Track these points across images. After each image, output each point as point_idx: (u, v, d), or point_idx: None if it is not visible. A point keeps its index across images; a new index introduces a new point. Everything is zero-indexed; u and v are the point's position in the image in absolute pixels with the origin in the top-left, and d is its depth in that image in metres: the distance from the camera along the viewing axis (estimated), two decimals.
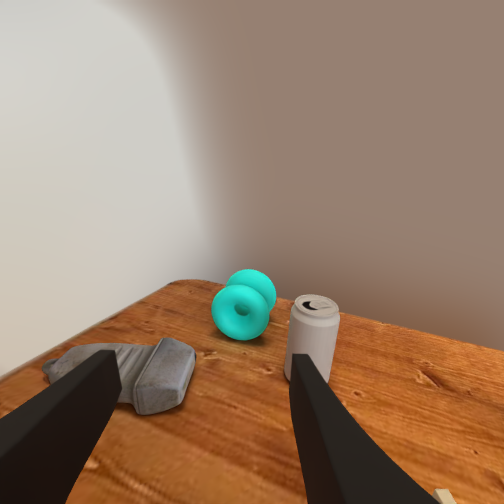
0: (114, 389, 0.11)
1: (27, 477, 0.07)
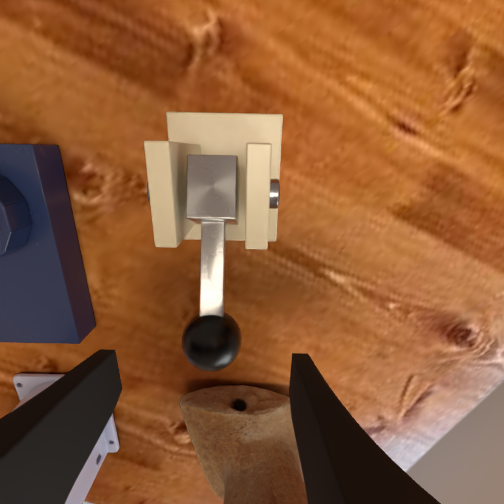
0: (114, 389, 0.11)
1: (27, 477, 0.07)
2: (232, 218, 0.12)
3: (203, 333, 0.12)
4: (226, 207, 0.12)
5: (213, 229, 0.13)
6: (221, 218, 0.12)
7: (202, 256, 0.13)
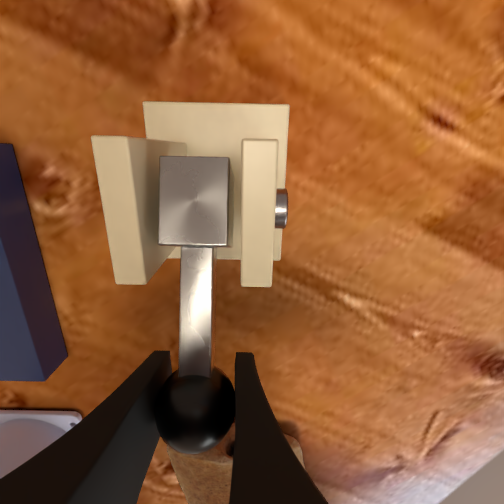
0: None
1: (113, 479, 0.07)
2: (222, 245, 0.09)
3: (182, 405, 0.09)
4: (214, 229, 0.08)
5: (197, 258, 0.09)
6: (207, 245, 0.09)
7: (182, 295, 0.09)
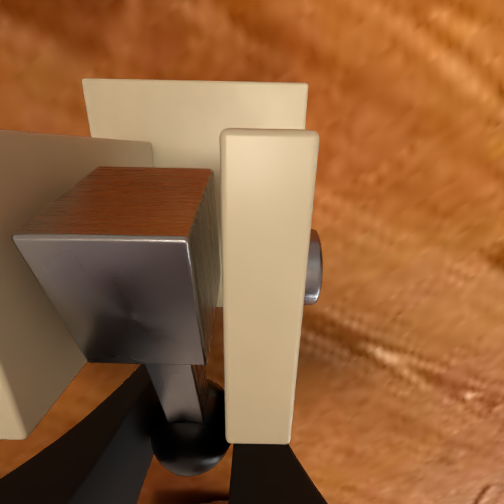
0: None
1: (113, 479, 0.07)
2: (199, 363, 0.05)
3: (176, 457, 0.08)
4: (180, 348, 0.05)
5: None
6: (172, 363, 0.05)
7: (152, 375, 0.07)
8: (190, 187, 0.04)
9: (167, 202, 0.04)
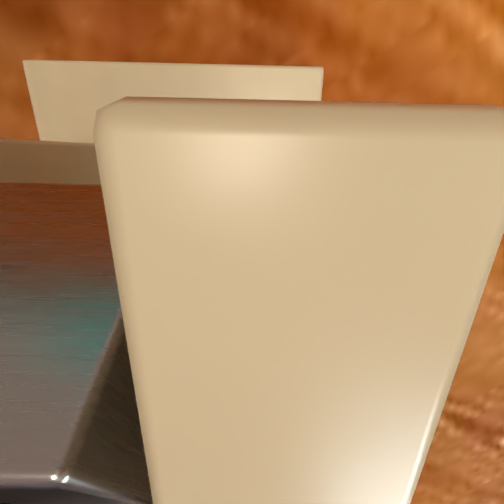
0: None
1: None
2: None
3: None
4: None
5: None
6: None
7: None
8: None
9: (55, 300, 0.02)
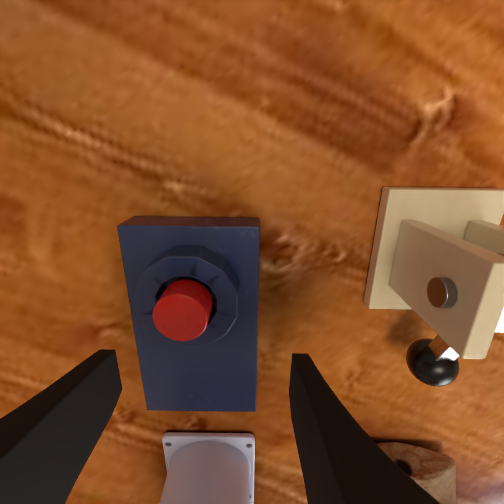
0: (114, 389, 0.11)
1: (27, 477, 0.07)
2: None
3: (441, 376, 0.16)
4: None
5: None
6: None
7: None
8: None
9: None
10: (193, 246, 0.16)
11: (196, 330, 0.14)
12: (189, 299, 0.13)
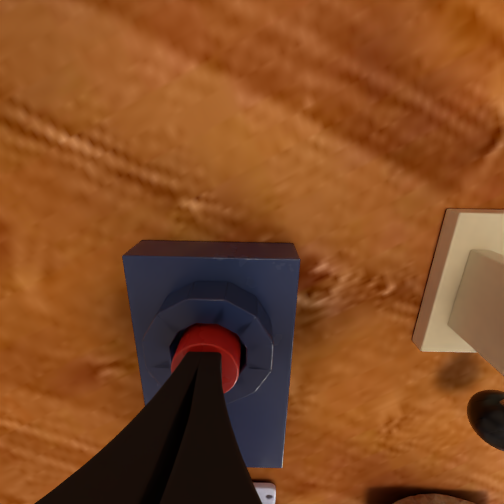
0: None
1: (166, 480, 0.07)
2: None
3: None
4: None
5: None
6: None
7: None
8: None
9: None
10: (217, 282, 0.13)
11: (224, 385, 0.11)
12: (217, 349, 0.11)
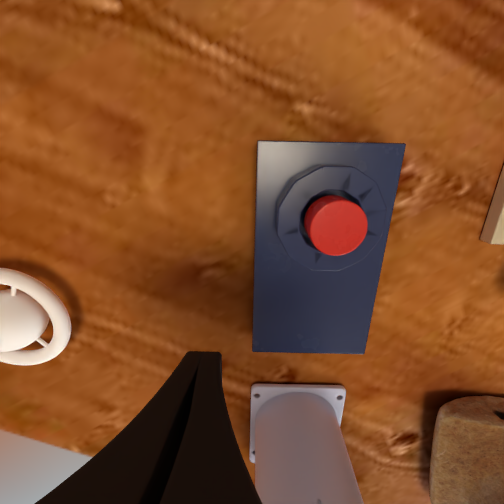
0: None
1: (166, 480, 0.07)
2: None
3: None
4: None
5: None
6: None
7: None
8: None
9: None
10: (334, 164, 0.15)
11: (353, 243, 0.13)
12: (353, 205, 0.13)
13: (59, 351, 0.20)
